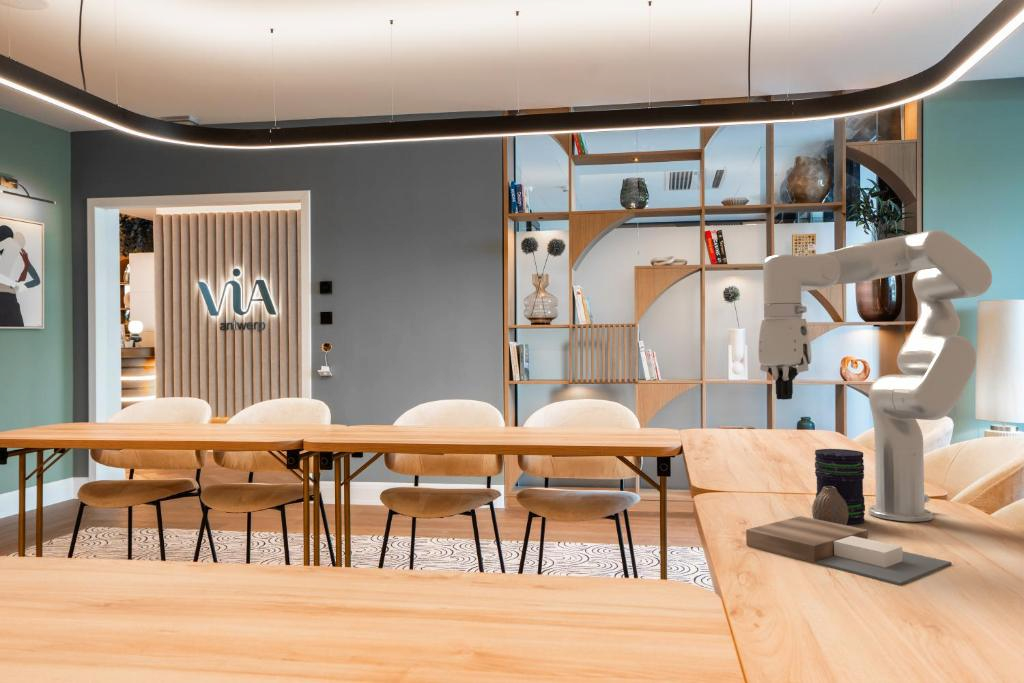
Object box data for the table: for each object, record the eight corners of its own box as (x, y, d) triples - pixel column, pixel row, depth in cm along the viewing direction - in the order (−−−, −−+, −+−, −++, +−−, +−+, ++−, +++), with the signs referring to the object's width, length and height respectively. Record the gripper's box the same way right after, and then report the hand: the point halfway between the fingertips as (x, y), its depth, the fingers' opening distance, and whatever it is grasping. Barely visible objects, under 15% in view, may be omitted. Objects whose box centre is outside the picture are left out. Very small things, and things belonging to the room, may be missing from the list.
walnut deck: (800, 530, 142) (800, 516, 142) (868, 545, 131) (867, 529, 131) (746, 545, 132) (746, 529, 132) (814, 563, 120) (814, 545, 120)
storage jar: (828, 512, 158) (827, 447, 158) (873, 520, 150) (872, 451, 150) (807, 519, 151) (806, 451, 152) (852, 528, 144) (851, 456, 144)
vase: (805, 527, 145) (804, 485, 145) (828, 523, 148) (827, 482, 148) (832, 535, 139) (831, 491, 139) (856, 531, 141) (855, 488, 142)
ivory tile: (851, 549, 127) (851, 535, 127) (902, 561, 120) (902, 546, 120) (834, 555, 124) (833, 541, 124) (885, 567, 116) (884, 552, 116)
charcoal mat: (870, 546, 130) (870, 544, 130) (951, 564, 119) (951, 562, 119) (817, 563, 120) (816, 561, 120) (899, 585, 109) (899, 582, 109)
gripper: (825, 311, 143) (827, 399, 142) (762, 315, 155) (764, 396, 155) (805, 310, 138) (806, 401, 138) (742, 314, 151) (743, 398, 150)
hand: (784, 398), depth 146 cm, fingers closed
